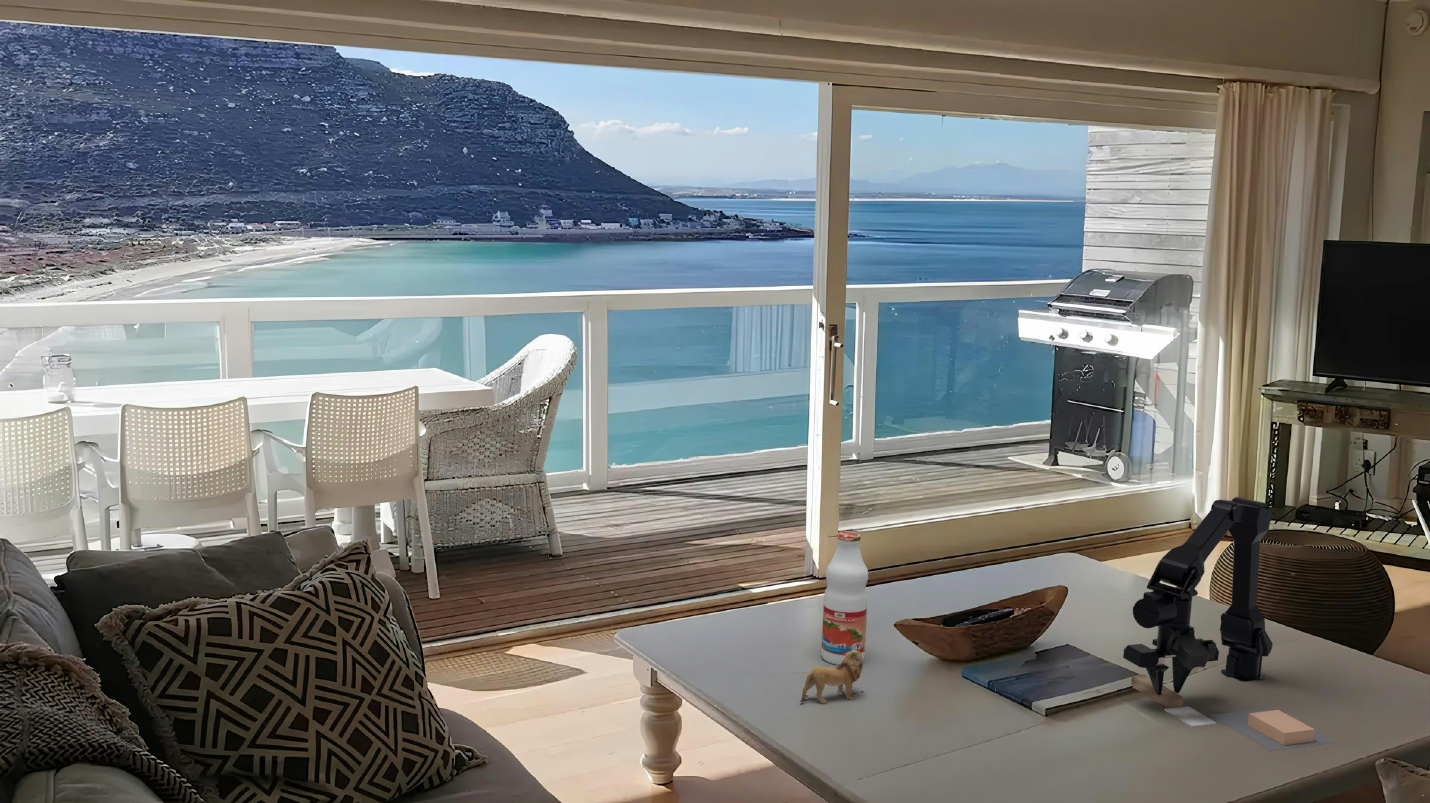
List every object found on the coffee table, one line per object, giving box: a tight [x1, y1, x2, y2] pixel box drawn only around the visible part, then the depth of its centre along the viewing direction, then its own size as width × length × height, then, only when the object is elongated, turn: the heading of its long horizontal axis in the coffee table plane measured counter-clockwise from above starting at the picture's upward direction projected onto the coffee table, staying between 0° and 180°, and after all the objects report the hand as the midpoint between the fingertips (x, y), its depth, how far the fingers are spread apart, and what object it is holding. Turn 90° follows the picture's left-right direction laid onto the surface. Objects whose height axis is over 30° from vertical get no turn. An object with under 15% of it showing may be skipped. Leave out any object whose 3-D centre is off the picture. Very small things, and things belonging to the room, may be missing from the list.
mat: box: [1209, 707, 1336, 752], centre depth 221 cm, size 15×16×1 cm
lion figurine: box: [799, 650, 865, 705], centre depth 229 cm, size 15×5×9 cm, turn 121°
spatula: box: [1130, 674, 1217, 728], centre depth 231 cm, size 20×6×3 cm, turn 18°
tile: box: [1248, 709, 1316, 745], centre depth 219 cm, size 7×2×9 cm
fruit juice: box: [820, 530, 869, 666], centre depth 249 cm, size 9×9×28 cm
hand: (1167, 693), depth 231 cm, fingers open, 4 cm apart
